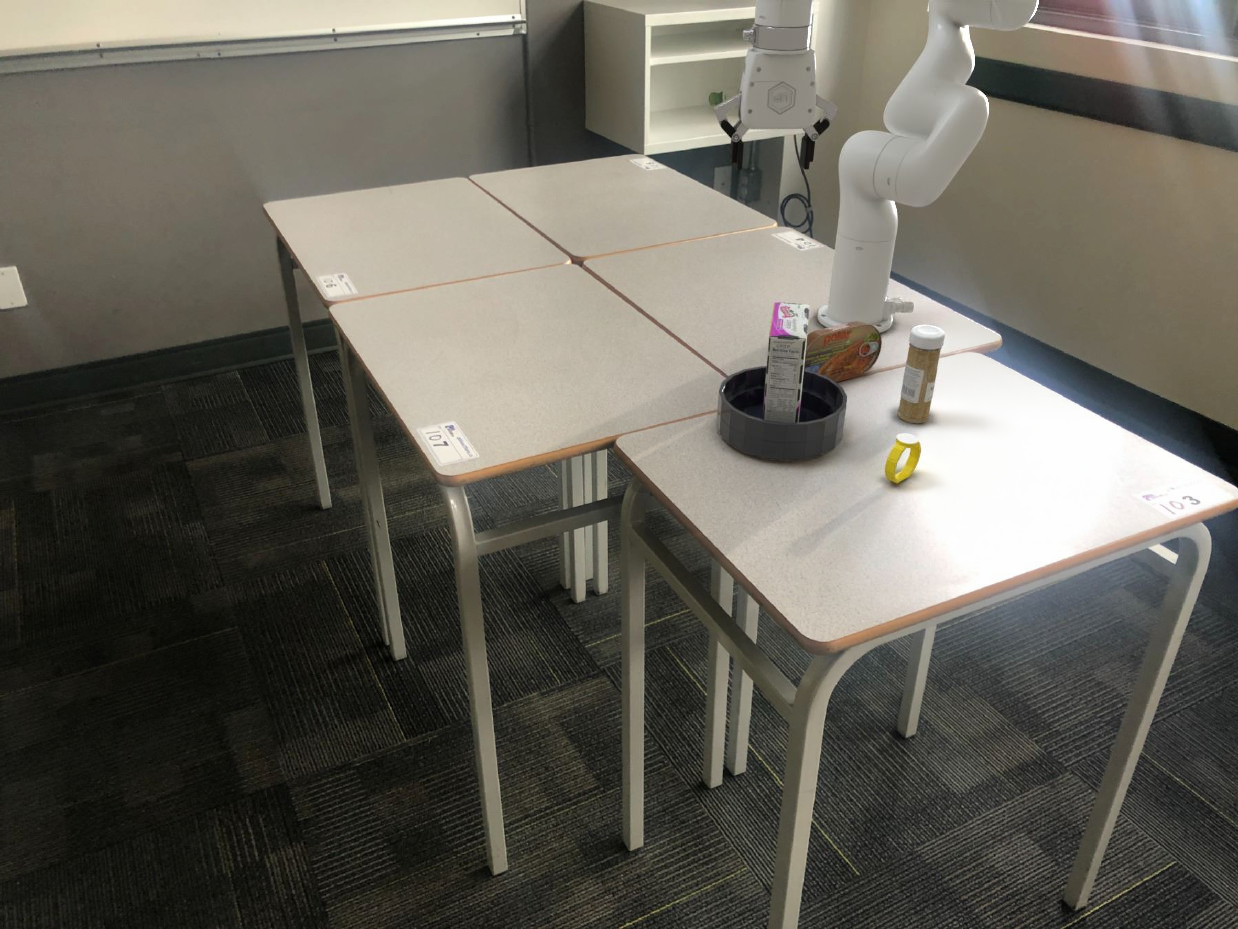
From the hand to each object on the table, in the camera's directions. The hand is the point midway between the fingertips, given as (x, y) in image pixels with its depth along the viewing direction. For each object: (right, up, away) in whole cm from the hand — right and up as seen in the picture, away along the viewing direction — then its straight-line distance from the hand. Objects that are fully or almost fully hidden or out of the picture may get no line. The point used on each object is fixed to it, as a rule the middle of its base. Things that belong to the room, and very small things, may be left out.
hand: (770, 167), depth 142 cm
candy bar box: (+1, -37, -4) cm, 38 cm away
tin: (+11, -29, +11) cm, 33 cm away
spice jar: (+20, -36, 0) cm, 41 cm away
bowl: (+1, -38, -4) cm, 38 cm away
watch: (+15, -44, -14) cm, 49 cm away
